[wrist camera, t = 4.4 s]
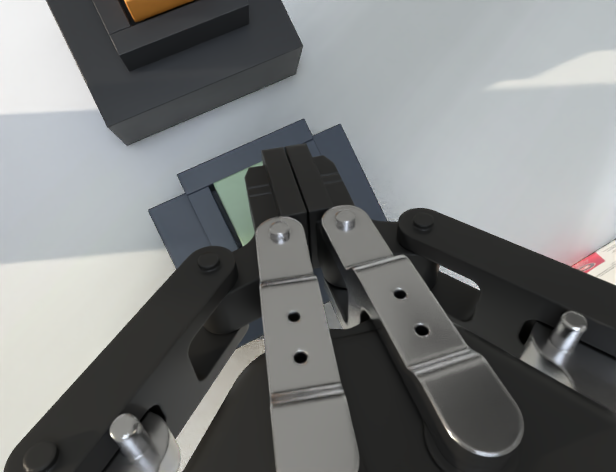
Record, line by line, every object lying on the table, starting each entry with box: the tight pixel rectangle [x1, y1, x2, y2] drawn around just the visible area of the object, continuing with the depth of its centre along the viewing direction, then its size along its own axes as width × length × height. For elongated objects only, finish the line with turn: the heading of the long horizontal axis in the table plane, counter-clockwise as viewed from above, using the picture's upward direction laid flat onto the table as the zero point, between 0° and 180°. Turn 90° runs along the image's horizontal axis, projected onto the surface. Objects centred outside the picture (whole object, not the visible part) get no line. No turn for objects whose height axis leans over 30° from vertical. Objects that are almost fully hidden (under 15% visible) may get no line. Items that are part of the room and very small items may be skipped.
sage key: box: [213, 161, 263, 246], centre depth 23 cm, size 4×4×2 cm
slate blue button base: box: [148, 119, 387, 349], centre depth 27 cm, size 12×10×6 cm
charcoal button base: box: [46, 0, 303, 145], centre depth 27 cm, size 12×10×6 cm
